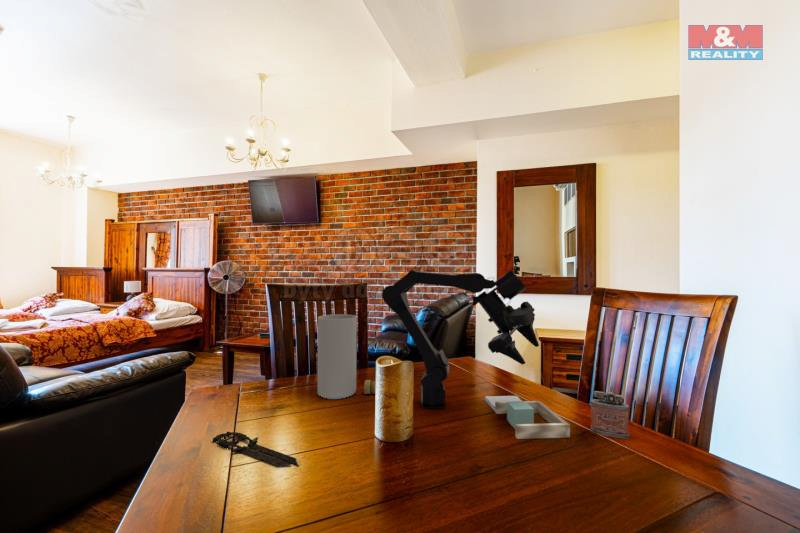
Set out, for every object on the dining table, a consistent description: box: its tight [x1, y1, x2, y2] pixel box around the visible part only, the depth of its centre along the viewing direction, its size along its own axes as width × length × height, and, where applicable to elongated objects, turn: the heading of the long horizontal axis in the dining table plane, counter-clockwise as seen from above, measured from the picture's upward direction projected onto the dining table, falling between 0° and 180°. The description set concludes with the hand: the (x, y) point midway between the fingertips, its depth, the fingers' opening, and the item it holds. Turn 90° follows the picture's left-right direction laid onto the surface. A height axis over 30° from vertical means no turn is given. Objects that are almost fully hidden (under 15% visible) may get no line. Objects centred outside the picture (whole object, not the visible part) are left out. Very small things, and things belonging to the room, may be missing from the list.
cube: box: [506, 400, 535, 429], centre depth 86 cm, size 5×5×5 cm
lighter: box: [590, 390, 630, 439], centre depth 81 cm, size 8×3×10 cm, turn 65°
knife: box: [212, 431, 300, 467], centre depth 72 cm, size 25×6×1 cm, turn 57°
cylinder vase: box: [317, 313, 358, 400], centre depth 108 cm, size 12×12×25 cm
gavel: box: [363, 379, 376, 395], centre depth 116 cm, size 21×5×10 cm
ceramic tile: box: [484, 395, 523, 412], centre depth 99 cm, size 10×8×1 cm
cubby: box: [494, 400, 571, 440], centre depth 86 cm, size 13×15×3 cm
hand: (531, 354), depth 93 cm, fingers open, 9 cm apart
